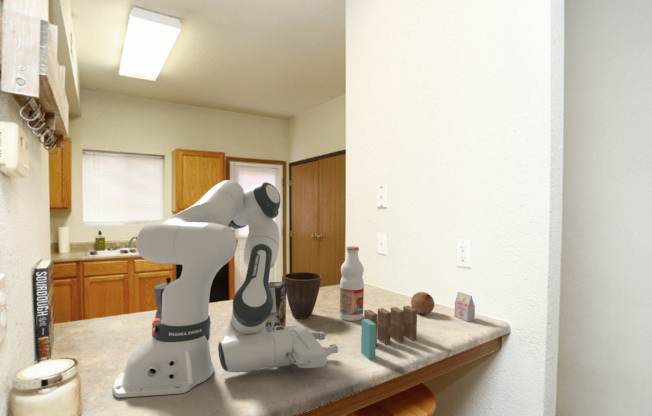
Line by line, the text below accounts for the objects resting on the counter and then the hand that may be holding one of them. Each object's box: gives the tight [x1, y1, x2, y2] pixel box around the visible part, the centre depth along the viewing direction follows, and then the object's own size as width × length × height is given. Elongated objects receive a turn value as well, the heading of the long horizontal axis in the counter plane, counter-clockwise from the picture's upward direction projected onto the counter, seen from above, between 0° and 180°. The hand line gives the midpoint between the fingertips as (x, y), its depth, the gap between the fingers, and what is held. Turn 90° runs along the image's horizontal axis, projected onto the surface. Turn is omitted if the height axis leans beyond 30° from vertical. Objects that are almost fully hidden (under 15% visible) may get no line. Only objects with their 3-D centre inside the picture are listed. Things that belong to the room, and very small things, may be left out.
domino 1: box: [363, 309, 378, 347], centre depth 107 cm, size 2×5×10 cm, turn 21°
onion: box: [410, 291, 435, 315], centre depth 140 cm, size 10×9×10 cm
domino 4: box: [402, 305, 418, 342], centre depth 113 cm, size 2×5×10 cm, turn 21°
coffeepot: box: [153, 276, 172, 320], centre depth 115 cm, size 15×9×18 cm, turn 14°
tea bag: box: [454, 291, 476, 323], centre depth 134 cm, size 4×7×10 cm, turn 22°
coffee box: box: [265, 281, 287, 332], centre depth 118 cm, size 9×6×16 cm
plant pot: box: [283, 271, 322, 319], centre depth 134 cm, size 15×15×16 cm
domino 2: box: [377, 308, 392, 345], centre depth 109 cm, size 2×5×10 cm, turn 21°
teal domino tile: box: [360, 318, 376, 361], centre depth 98 cm, size 2×5×10 cm, turn 21°
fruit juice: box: [339, 246, 365, 322], centre depth 133 cm, size 9×9×28 cm
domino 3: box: [390, 306, 405, 343], centre depth 111 cm, size 2×5×10 cm, turn 21°
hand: (330, 341), depth 94 cm, fingers open, 8 cm apart
